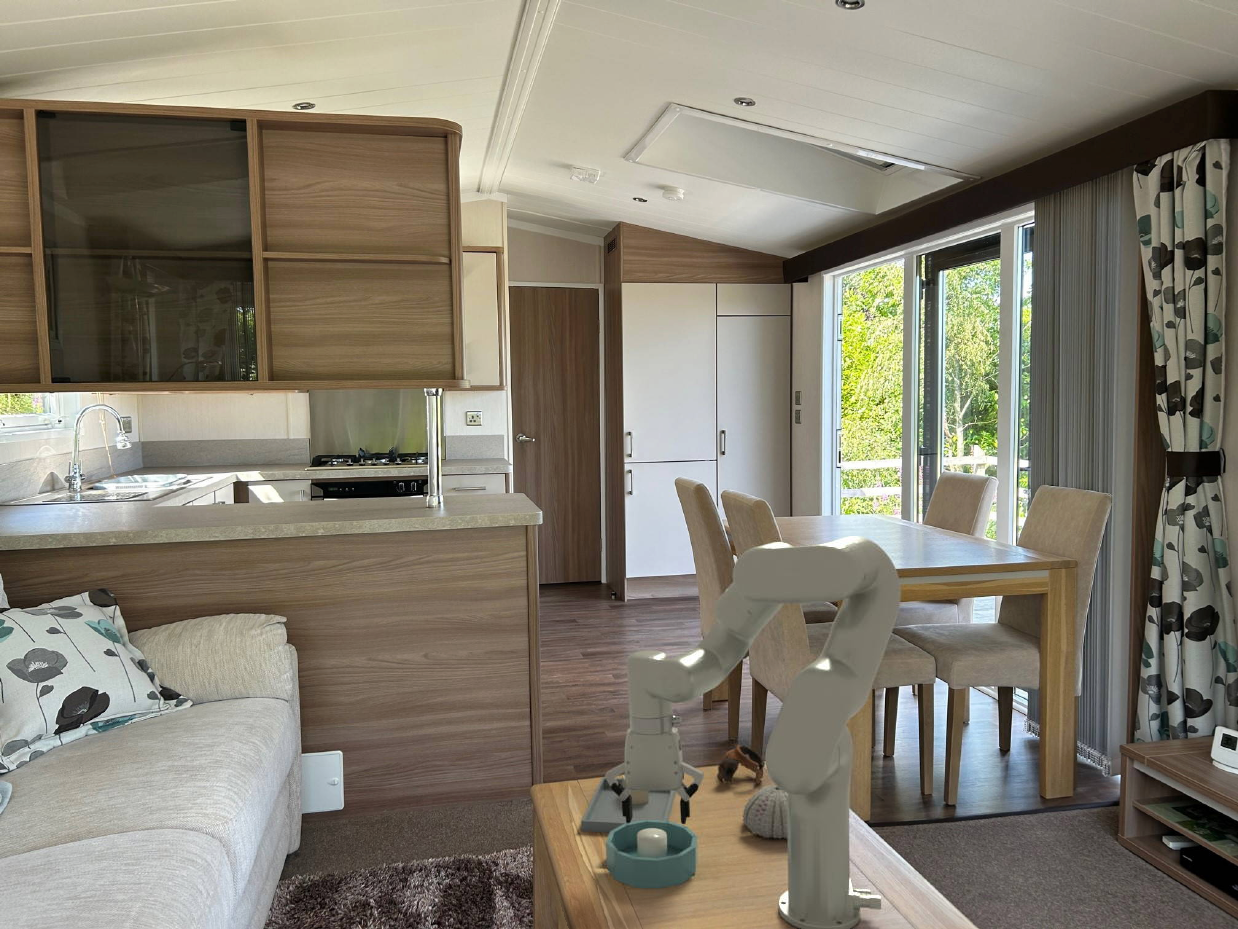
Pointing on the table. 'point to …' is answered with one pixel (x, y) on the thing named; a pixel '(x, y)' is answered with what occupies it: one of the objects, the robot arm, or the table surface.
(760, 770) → the brown animal figurine
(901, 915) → the table surface
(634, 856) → the bowl
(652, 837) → the pale stone
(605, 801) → the parts tray
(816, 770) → the robot arm
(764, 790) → the sea urchin shell
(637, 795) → the sand stone
